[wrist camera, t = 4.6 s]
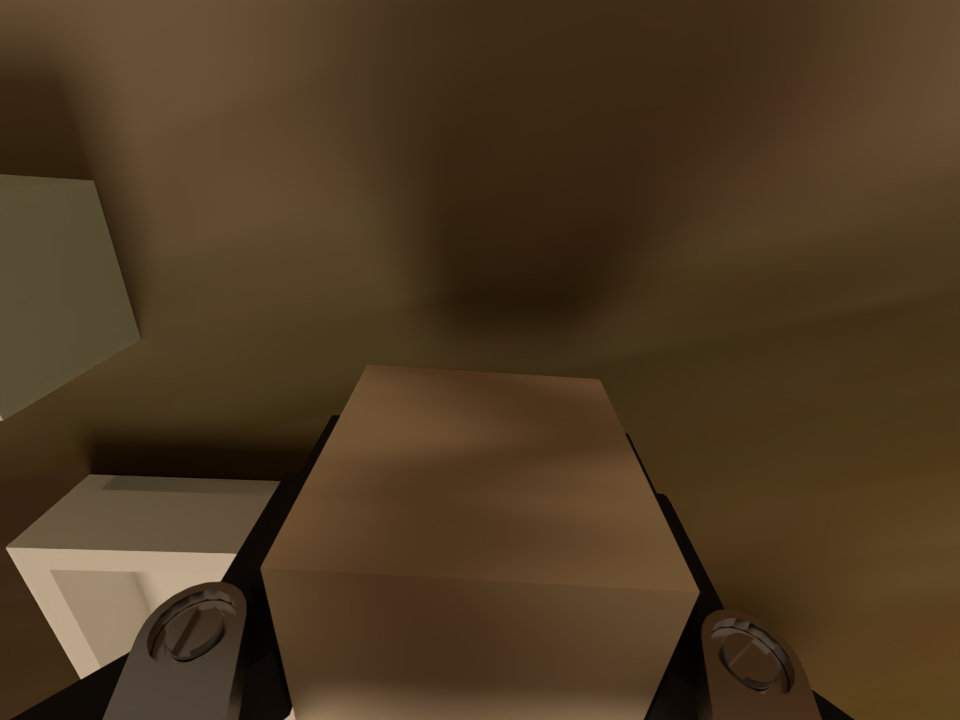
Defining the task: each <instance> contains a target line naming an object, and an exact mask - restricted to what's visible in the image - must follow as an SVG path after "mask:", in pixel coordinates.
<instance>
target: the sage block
mask: <svg viewBox="0 0 960 720" xmlns="http://www.w3.org/2000/svg"><path fill="white" fill-rule="evenodd" d="M140 339H141V338H140V335H139V332H138V328H137V325H136V321H135V318H134V315H133V311H132V308H131V305H130V301H129V298H128V294H127V291H126V288H125V284H124V281H123V278H122V274H121V271H120V267H119V264H118V261H117V257H116V254H115V251H114V247H113V244H112V240H111V237H110V234H109V230H108V227H107V224H106V220H105V217H104V213H103V210H102V207H101V203H100V200H99V197H98V193H97V190H96V186H95V183H94V180H79V179H63V178H48V177H33V176H18V175H3V174H0V421H3V420H5V419H7V418H9V417H10V416H12V415H14V414H15V413H17V412H19V411H20V410H22V409H24V408H25V407H27V406H29V405H30V404H32V403H34V402H35V401H37V400H39V399H40V398H42V397H44V396H46V395H47V394H49V393H51V392H52V391H54V390H56V389H57V388H59V387H61V386H62V385H64V384H66V383H67V382H69V381H71V380H72V379H74V378H76V377H77V376H79V375H81V374H83V373H84V372H86V371H88V370H89V369H91V368H93V367H94V366H96V365H98V364H99V363H101V362H103V361H104V360H106V359H108V358H109V357H111V356H113V355H114V354H116V353H118V352H120V351H121V350H123V349H125V348H126V347H128V346H130V345H131V344H133V343H135V342H136V341H138V340H140Z"/></svg>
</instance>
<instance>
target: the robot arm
mask: <svg viewBox="0 0 960 720" xmlns="http://www.w3.org/2000/svg"><path fill="white" fill-rule="evenodd" d="M339 418H340V416H339V415H333V416H332V417H331V418H330V420H329V422H328V424H327V425H326V427H325V429H324V431H323V433H322V434H321V436H320V438H319V440H318V442H317V443H316V445H315V447H314V449H313V451H312V452H311V454H310V456H309V458H308V460H307V461H306V463H305V465H304V467H303V469H302V470H301V472H300V473H299V472H289V473H287V474H286V475H285V476H284V477H283V478H282V480H281V482H280V483H279V485H278V487H277V488H276V490H275V491H274V493H273V495H272V496H271V498H270V500H269V501H268V503H267V505H266V506H265V508H264V510H263V511H262V513H261V515H260V516H259V518H258V520H257V521H256V523H255V525H254V526H253V528H252V530H251V531H250V533H249V535H248V536H247V538H246V540H245V541H244V543H243V545H242V546H241V548H240V550H239V551H238V553H237V555H236V556H235V558H234V560H233V561H232V563H231V565H230V566H229V568H228V570H227V571H226V573H225V575H224V576H223V578H222V580H221V581H220V582H205V583H202V584H198V585H195V586H191V587H189V588H187V589H185V590H183V591H181V592H179V593H177V594H175V595H173V596H172V597H170V598H169V599H168V600H166V601H165V602H164V603H162V604H161V605H160V606H158V607H157V609H156V610H155V611H154V612H153V613H152V614H151V615H150V616H149V617H148V618H147V619H146V621H145V622H144V624H143V626H142V627H141V629H140V631H139V633H138V634H137V636H136V639H135V641H134V644H133V646H132V649H131V651H130V652H128V653H126V654H125V655H123V656H121V657H119V658H118V659H116V660H114V661H112V662H111V663H109V664H107V665H105V666H104V667H102V668H100V669H98V670H97V671H95V672H93V673H91V674H90V675H88V676H86V677H84V678H83V679H81V680H79V681H77V682H76V683H74V684H72V685H70V686H68V687H67V688H65V689H63V690H61V691H60V692H58V693H56V694H54V695H53V696H51V697H49V698H47V699H46V700H44V701H42V702H40V703H39V704H37V705H35V706H33V707H32V708H30V709H28V710H26V711H25V712H23V713H21V714H19V715H18V716H16V717H14V718H12V719H11V720H284V719H286V718H287V717H288V716H289V715H290V713H291V710H292V707H293V706H292V702H291V698H290V693H289V689H288V685H287V680H286V676H285V672H284V667H283V663H282V659H281V655H280V650H279V646H278V642H277V637H276V633H275V629H274V624H273V620H272V616H271V611H270V607H269V603H268V598H267V594H266V590H265V585H264V581H263V577H262V572H261V566H262V564H263V562H264V560H265V558H266V556H267V554H268V552H269V551H270V549H271V547H272V545H273V543H274V541H275V539H276V537H277V535H278V533H279V532H280V530H281V528H282V526H283V524H284V522H285V520H286V518H287V516H288V515H289V513H290V511H291V509H292V507H293V505H294V503H295V501H296V499H297V497H298V496H299V494H300V492H301V490H302V488H303V486H304V484H305V482H306V480H307V478H308V477H309V475H310V473H311V471H312V469H313V467H314V465H315V463H316V461H317V459H318V458H319V456H320V454H321V452H322V450H323V448H324V446H325V444H326V442H327V441H328V439H329V437H330V435H331V433H332V431H333V429H334V427H335V425H336V423H337V422H338V420H339ZM625 435H626V437H627V439H628V441H629V443H630V445H631V447H632V449H633V451H634V454H635V456H636V458H637V460H638V462H639V464H640V466H641V468H642V471H643V473H644V475H645V477H646V479H647V481H648V483H649V485H650V487H651V490H652V492H653V494H654V496H655V498H656V500H657V502H658V504H659V507H660V509H661V511H662V513H663V515H664V517H665V519H666V521H667V524H668V526H669V528H670V530H671V532H672V534H673V536H674V538H675V540H676V543H677V545H678V547H679V549H680V551H681V553H682V555H683V557H684V560H685V562H686V564H687V566H688V568H689V570H690V572H691V574H692V576H693V579H694V581H695V583H696V585H697V587H698V589H699V591H700V593H699V595H698V597H697V600H696V602H695V604H694V607H693V609H692V611H691V613H690V616H689V618H688V620H687V622H686V625H685V627H684V629H683V632H682V634H681V636H680V638H679V641H678V643H677V645H676V647H675V650H674V652H673V654H672V657H671V659H670V661H669V663H668V666H667V668H666V670H665V672H664V675H663V677H662V679H661V681H660V684H659V686H658V688H657V691H656V693H655V695H654V697H653V700H652V702H651V704H650V706H649V709H648V711H647V713H646V716H645V718H644V720H854V719H853V718H851V717H850V716H848V715H847V714H846V713H844V712H843V711H841V710H840V709H839V708H837V707H836V706H834V705H833V704H831V703H830V702H829V701H827V700H826V699H824V698H823V697H822V696H820V695H819V694H817V693H816V692H815V691H813V690H812V689H811V686H810V684H809V681H808V678H807V675H806V672H805V669H804V667H803V665H802V663H801V661H800V659H799V657H798V655H797V654H796V652H795V651H794V650H793V649H792V647H791V646H790V645H789V643H788V642H787V641H786V640H785V639H784V638H783V637H782V636H781V635H780V634H779V633H778V632H776V631H775V630H774V629H773V628H772V627H771V626H769V625H767V624H766V623H764V622H763V621H761V620H760V619H758V618H757V617H754V616H752V615H749V614H747V613H744V612H742V611H736V610H730V609H724V607H723V605H722V603H721V601H720V599H719V597H718V595H717V593H716V591H715V589H714V587H713V585H712V583H711V581H710V579H709V577H708V575H707V573H706V571H705V570H704V568H703V566H702V564H701V562H700V560H699V558H698V556H697V554H696V552H695V550H694V548H693V546H692V544H691V542H690V540H689V538H688V536H687V534H686V532H685V530H684V528H683V526H682V524H681V522H680V520H679V518H678V516H677V514H676V512H675V510H674V508H673V506H672V504H671V502H670V501H669V499H668V498H667V497H666V496H665V495H664V494H657V493H656V491H655V489H654V487H653V485H652V483H651V480H650V478H649V476H648V474H647V472H646V470H645V468H644V466H643V464H642V462H641V460H640V458H639V456H638V453H637V451H636V449H635V447H634V445H633V443H632V441H631V439H630V437H629V435H628V434H627V433H625Z"/></svg>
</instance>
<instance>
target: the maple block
mask: <svg viewBox="0 0 960 720" xmlns="http://www.w3.org/2000/svg"><path fill="white" fill-rule="evenodd" d="M261 572H262V577H263V581H264V585H265V590H266V594H267V598H268V603H269V607H270V611H271V616H272V620H273V624H274V629H275V633H276V637H277V642H278V646H279V650H280V655H281V659H282V663H283V667H284V672H285V676H286V680H287V685H288V689H289V693H290V698H291V702H292V706H293V711H294V715H295V719H296V720H644V718H645V716H646V713H647V711H648V709H649V706H650V704H651V702H652V700H653V697H654V695H655V693H656V691H657V688H658V686H659V684H660V681H661V679H662V677H663V675H664V672H665V670H666V668H667V666H668V663H669V661H670V659H671V657H672V654H673V652H674V650H675V647H676V645H677V643H678V641H679V638H680V636H681V634H682V632H683V629H684V627H685V625H686V622H687V620H688V618H689V616H690V613H691V611H692V609H693V607H694V604H695V602H696V600H697V597H698V595H699V593H700V591H699V589H698V587H697V585H696V583H695V581H694V579H693V576H692V574H691V572H690V570H689V568H688V566H687V564H686V562H685V560H684V557H683V555H682V553H681V551H680V549H679V547H678V545H677V543H676V540H675V538H674V536H673V534H672V532H671V530H670V528H669V526H668V524H667V521H666V519H665V517H664V515H663V513H662V511H661V509H660V507H659V504H658V502H657V500H656V498H655V496H654V494H653V492H652V490H651V487H650V485H649V483H648V481H647V479H646V477H645V475H644V473H643V471H642V468H641V466H640V464H639V462H638V460H637V458H636V456H635V454H634V451H633V449H632V447H631V445H630V443H629V441H628V439H627V437H626V435H625V432H624V430H623V428H622V426H621V424H620V422H619V420H618V418H617V415H616V413H615V411H614V409H613V407H612V405H611V403H610V401H609V399H608V396H607V394H606V392H605V390H604V388H603V386H602V384H601V382H600V379H585V378H569V377H554V376H538V375H522V374H507V373H491V372H475V371H460V370H444V369H428V368H413V367H397V366H381V365H367V367H366V368H365V370H364V372H363V374H362V376H361V378H360V380H359V382H358V384H357V386H356V387H355V389H354V391H353V393H352V395H351V397H350V399H349V401H348V403H347V404H346V406H345V408H344V410H343V412H342V414H341V416H340V418H339V420H338V422H337V423H336V425H335V427H334V429H333V431H332V433H331V435H330V437H329V439H328V441H327V442H326V444H325V446H324V448H323V450H322V452H321V454H320V456H319V458H318V459H317V461H316V463H315V465H314V467H313V469H312V471H311V473H310V475H309V477H308V478H307V480H306V482H305V484H304V486H303V488H302V490H301V492H300V494H299V496H298V497H297V499H296V501H295V503H294V505H293V507H292V509H291V511H290V513H289V515H288V516H287V518H286V520H285V522H284V524H283V526H282V528H281V530H280V532H279V533H278V535H277V537H276V539H275V541H274V543H273V545H272V547H271V549H270V551H269V552H268V554H267V556H266V558H265V560H264V562H263V564H262V566H261Z"/></svg>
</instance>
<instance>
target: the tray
mask: <svg viewBox="0 0 960 720" xmlns="http://www.w3.org/2000/svg"><path fill="white" fill-rule="evenodd" d="M280 482H281V481H261V480H233V479H204V478H175V477H146V476H118V475H88V476H87V477H86V478H85V479H84V480H83V481H81V482H80V483H79V484H78V485H77V486H76V487H75V488H73V489H72V490H71V491H70V492H69V493H68V494H67V495H65V496H64V497H63V498H62V499H61V500H60V501H58V502H57V503H56V504H55V505H54V506H53V507H52V508H50V509H49V510H48V511H47V512H46V513H45V514H44V515H42V516H41V517H40V518H39V519H38V520H37V521H35V522H34V523H33V524H32V525H31V526H30V527H29V528H27V529H26V530H25V531H24V532H23V533H22V534H21V535H19V536H18V537H17V538H16V539H15V540H14V541H13V542H11V543H10V544H9V545H8V546H7V547H6V549H7V551H8V553H9V554H10V556H11V558H12V560H13V561H14V563H15V565H16V567H17V568H18V570H19V572H20V574H21V575H22V577H23V579H24V581H25V582H26V584H27V586H28V588H29V589H30V591H31V593H32V595H33V596H34V598H35V600H36V602H37V603H38V605H39V607H40V609H41V610H42V612H43V614H44V616H45V617H46V619H47V621H48V622H49V624H50V626H51V628H52V629H53V631H54V633H55V635H56V636H57V638H58V640H59V642H60V643H61V645H62V647H63V649H64V650H65V652H66V654H67V656H68V657H69V659H70V661H71V663H72V664H73V666H74V668H75V670H76V671H77V673H78V675H79V677H80V678H81V679H83V678H84V677H86V676H88V675H90V674H91V673H93V672H95V671H97V670H98V669H100V668H102V667H104V666H105V665H107V664H109V663H111V662H112V661H114V660H116V659H118V658H119V657H121V656H123V655H125V654H126V653H128V652H130V651H131V649H132V646H133V644H134V641H135V639H136V636H137V634H138V633H139V631H140V629H141V627H142V626H143V624H144V622H145V621H146V619H147V618H148V617H149V616H150V615H151V614H152V613H153V612H154V611H155V610H156V609H157V607H158V606H160V605H161V604H162V603H164V602H165V601H166V600H168V599H169V598H170V597H172V596H173V595H175V594H177V593H179V592H181V591H183V590H185V589H187V588H189V587H191V586H195V585H198V584H202V583H205V582H220V581H221V580H222V578H223V576H224V575H225V573H226V571H227V570H228V568H229V566H230V565H231V563H232V561H233V560H234V558H235V556H236V555H237V553H238V551H239V550H240V548H241V546H242V545H243V543H244V541H245V540H246V538H247V536H248V535H249V533H250V531H251V530H252V528H253V526H254V525H255V523H256V521H257V520H258V518H259V516H260V515H261V513H262V511H263V510H264V508H265V506H266V505H267V503H268V501H269V500H270V498H271V496H272V495H273V493H274V491H275V490H276V488H277V487H278V485H279V483H280ZM284 720H296V719H295V715H294V711H293V707H292V710H291V713H290V715H289V716H288V717H287V718H286V719H284Z"/></svg>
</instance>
